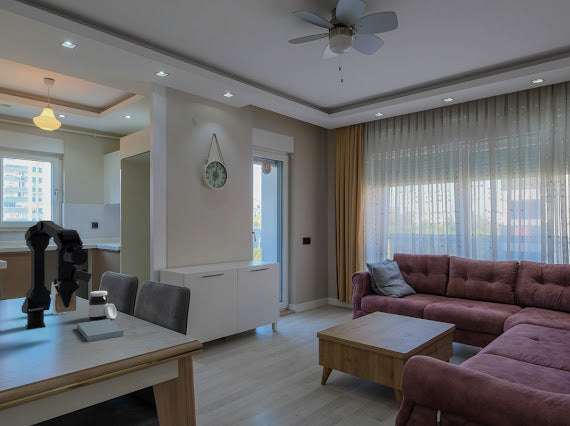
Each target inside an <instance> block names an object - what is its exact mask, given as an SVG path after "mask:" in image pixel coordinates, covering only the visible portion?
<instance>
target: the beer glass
mask: <svg viewBox="0 0 570 426" xmlns="http://www.w3.org/2000/svg"><path fill="white" fill-rule="evenodd" d="M55 286H57V284H56V285H54V284H53V281H51V289H50V296H51V302H52V313H51V314H52V315H54V316H60V315H61V316H62V315H65V314H67V313H68V312H61V313H57V312H56V310H55V294H58V293H57V291H56V288H55Z"/></svg>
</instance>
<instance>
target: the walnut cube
mask: <svg viewBox="0 0 570 426" xmlns="http://www.w3.org/2000/svg"><path fill="white" fill-rule="evenodd" d="M55 310H56V312H57V313H61V312H67V313H68V312H74V311H75V312H76V311H77V294H76V293H75V291H74V292H73V294H72V297H71V300H70V304H69V307H68V308H65V306H64V304H63V301H62V299H61V296H60V294H59V293H58V294H55Z"/></svg>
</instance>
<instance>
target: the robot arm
mask: <svg viewBox="0 0 570 426" xmlns="http://www.w3.org/2000/svg"><path fill="white" fill-rule="evenodd" d="M52 238H53V243H55V245H56V246H57V248H55V251H56V252H57V256H56V257H57V262H56V264H57V265H56V277H54V278H53V281H52V282H53V284H54V285H56V284H57V286H55V288H56V291H57V293H59V294H60V296H61V299H62V301H63V304H64V306H65V308H68V307H69V304H70V300H71V297H72V294H73V292H74V293H75V291H78V289H80V282H79V281H77V280H81V281H85V282H87V283H90V281H91V278H92V276H93V274H92V273H91V272H88V271H87V269H86V268H81V269H78V267H77V266H82V265H85V263H86V262H87V261H88V257H89V255H88V253H87V252H86V250H85V249H83V248H84V245H83V244H84V243H83V240H82V239H81V237H80V234H79V233H78V230H76V229H73V228H64V227H62V226H60V225H59V224H57V223H55V222H54V221H52V220H39V221H37V223H36V224H33V225H32V226H30V227H28V229H27V230H26V232H25V233H24V240H25V242H26V243H25V244H26V246H27V248H28V249H29V250H30V288H29V289H28V291H27V292H26V294H25V299H24V301H23V303H22V305H21V313H23V314H26V316H27V317H26V321H27V322H26V323H27V324H25V325H24V326H25V329H26V330H31V329H36V328H43V327H46V323H45V322H44V321H45V311H49V310H50V308H51V302H52V296H51V290H50V289H48V288H47V287H46V285H45V284H46V280H45V279H46V273H45V272H46V265H45V264H46V261H45V260H46V258H45V257H46V255H45V254H46V249H47V248H48V247H49V245H50V240H51V239H52Z"/></svg>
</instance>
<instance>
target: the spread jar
mask: <svg viewBox="0 0 570 426" xmlns="http://www.w3.org/2000/svg"><path fill="white" fill-rule="evenodd" d="M88 300H89V301H88V319H89V320H90V321H99V320H106V319H110V320H114V319H116V318H117V315H118V314H117V313H118V311H117V308H116V306H115V304H114V303H109V297H108V291H107V290H95V291H91V292H90V295H89V299H88Z"/></svg>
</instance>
